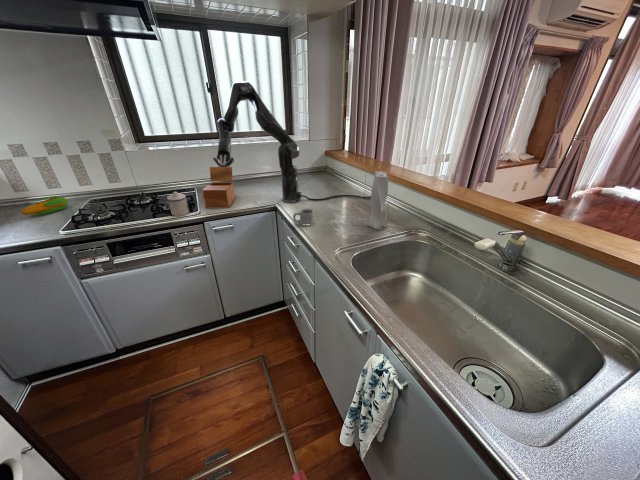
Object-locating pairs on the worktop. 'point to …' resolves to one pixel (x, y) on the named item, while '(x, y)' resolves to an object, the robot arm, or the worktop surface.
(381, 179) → the skyscraper
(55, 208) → the corn
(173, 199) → the teacup with lid
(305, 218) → the mug
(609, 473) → the worktop surface
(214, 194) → the wooden box
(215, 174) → the flap
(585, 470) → the worktop surface
